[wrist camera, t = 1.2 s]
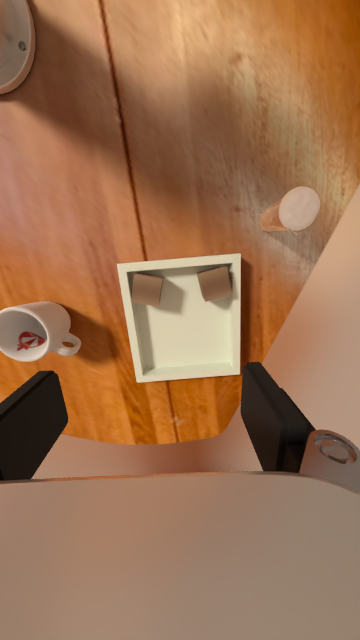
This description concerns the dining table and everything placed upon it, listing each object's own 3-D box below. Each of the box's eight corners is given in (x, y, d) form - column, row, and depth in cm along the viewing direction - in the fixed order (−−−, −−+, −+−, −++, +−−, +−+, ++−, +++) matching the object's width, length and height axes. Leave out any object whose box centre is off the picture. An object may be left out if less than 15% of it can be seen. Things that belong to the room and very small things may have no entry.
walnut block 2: (196, 272, 33) (199, 274, 29) (221, 266, 32) (227, 267, 29) (202, 296, 34) (205, 301, 30) (225, 290, 34) (232, 294, 30)
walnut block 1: (138, 272, 33) (134, 274, 29) (163, 276, 33) (162, 279, 29) (135, 296, 34) (130, 302, 30) (160, 301, 34) (158, 306, 30)
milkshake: (247, 236, 32) (277, 228, 22) (261, 199, 30) (300, 173, 21) (273, 245, 32) (314, 241, 23) (289, 209, 31) (339, 189, 21)
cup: (100, 321, 36) (79, 339, 28) (80, 355, 37) (55, 381, 30) (41, 286, 34) (1, 295, 26) (22, 324, 36) (-20, 343, 28)
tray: (122, 263, 33) (116, 264, 30) (235, 253, 33) (240, 253, 30) (139, 373, 39) (136, 382, 36) (235, 365, 39) (240, 374, 36)
